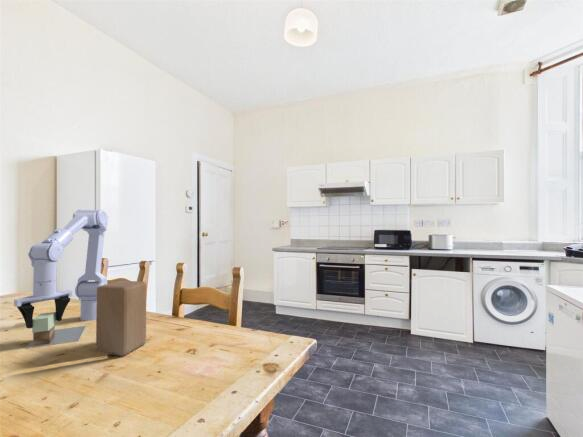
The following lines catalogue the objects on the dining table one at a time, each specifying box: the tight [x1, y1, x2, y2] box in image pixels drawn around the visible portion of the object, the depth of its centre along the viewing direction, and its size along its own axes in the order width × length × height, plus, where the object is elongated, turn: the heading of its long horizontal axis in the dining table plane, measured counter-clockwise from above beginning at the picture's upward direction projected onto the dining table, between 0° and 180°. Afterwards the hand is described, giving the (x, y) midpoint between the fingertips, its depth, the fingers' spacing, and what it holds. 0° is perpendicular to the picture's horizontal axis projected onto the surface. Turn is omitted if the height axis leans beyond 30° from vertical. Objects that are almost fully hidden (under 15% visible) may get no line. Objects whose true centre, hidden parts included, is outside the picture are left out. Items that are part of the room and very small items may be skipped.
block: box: [95, 280, 147, 357], centre depth 91 cm, size 10×10×20 cm
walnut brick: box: [32, 325, 56, 346], centre depth 94 cm, size 4×6×4 cm, turn 27°
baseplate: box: [24, 325, 87, 350], centre depth 98 cm, size 13×16×1 cm
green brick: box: [31, 311, 57, 334], centre depth 94 cm, size 4×6×4 cm, turn 20°
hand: (44, 323), depth 94 cm, fingers closed on green brick, 7 cm apart
